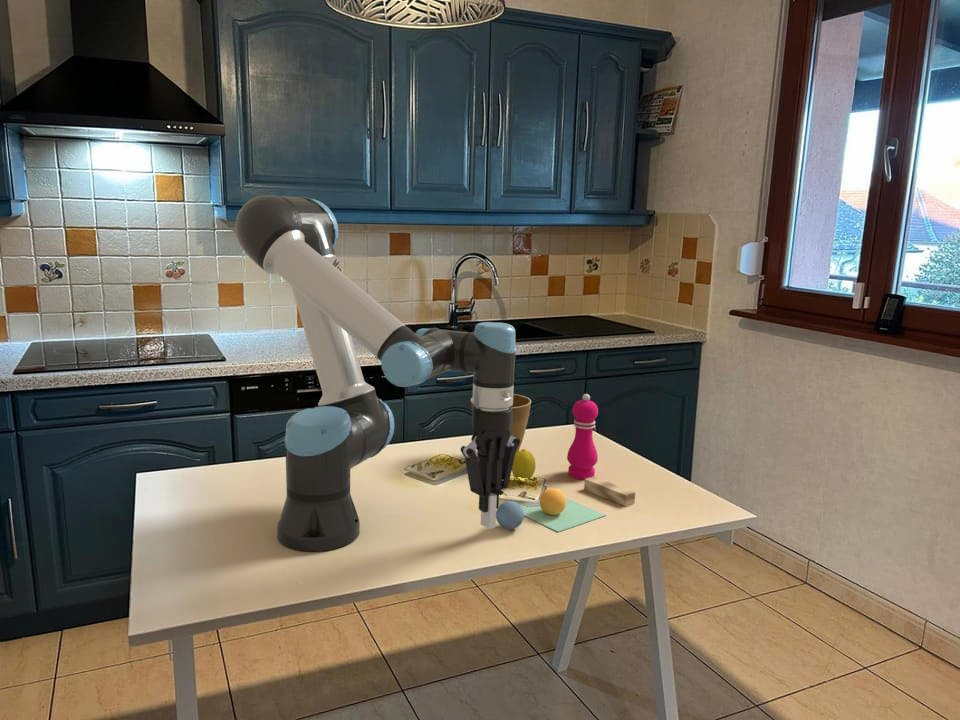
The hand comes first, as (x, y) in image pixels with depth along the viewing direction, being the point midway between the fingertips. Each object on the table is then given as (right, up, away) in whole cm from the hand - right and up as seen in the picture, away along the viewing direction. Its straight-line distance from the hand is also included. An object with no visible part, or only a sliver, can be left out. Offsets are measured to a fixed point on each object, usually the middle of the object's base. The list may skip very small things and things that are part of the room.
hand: (488, 525), depth 139 cm
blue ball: (+4, +1, +3) cm, 6 cm away
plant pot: (+3, +6, +43) cm, 43 cm away
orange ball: (+13, +2, +11) cm, 17 cm away
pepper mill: (+23, +4, +35) cm, 42 cm away
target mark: (+15, 0, +12) cm, 19 cm away
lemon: (+8, +3, +29) cm, 31 cm away
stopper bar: (+27, +1, +22) cm, 35 cm away
